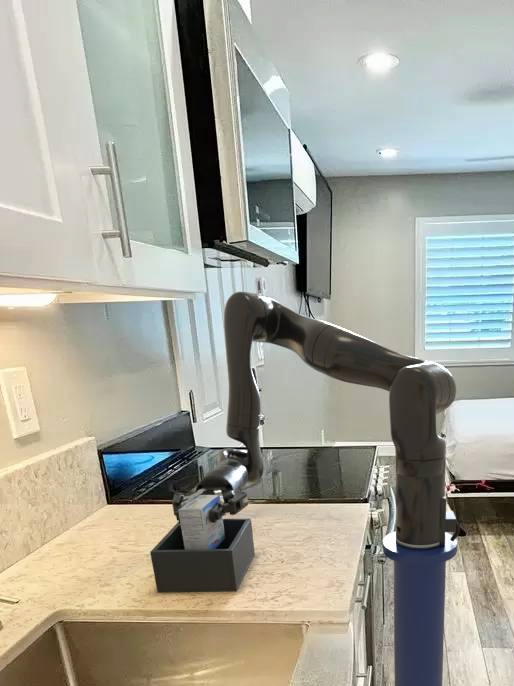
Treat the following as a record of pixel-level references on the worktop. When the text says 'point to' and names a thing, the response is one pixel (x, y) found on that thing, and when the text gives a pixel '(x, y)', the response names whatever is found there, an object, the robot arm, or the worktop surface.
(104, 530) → the worktop surface
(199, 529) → the medicine box
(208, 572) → the storage bin
